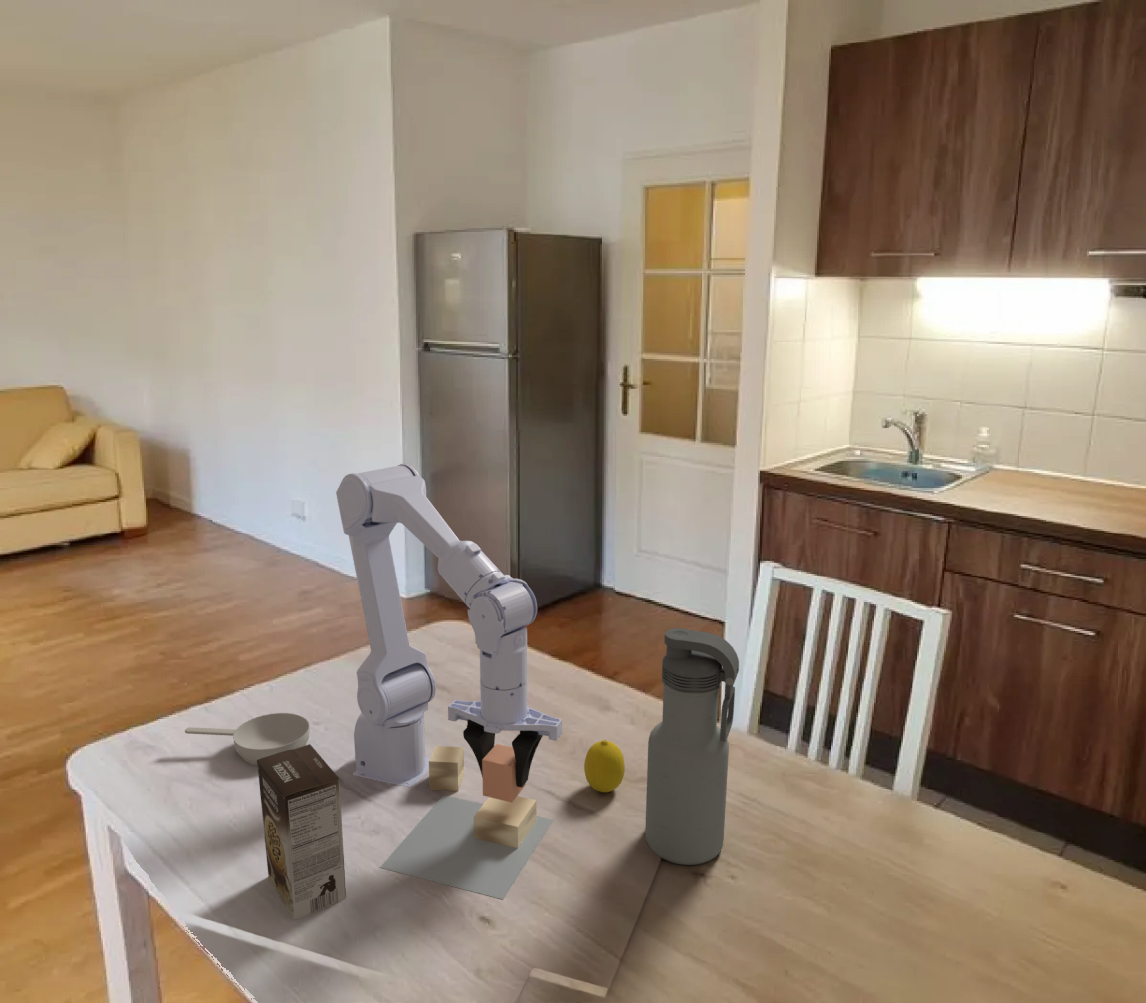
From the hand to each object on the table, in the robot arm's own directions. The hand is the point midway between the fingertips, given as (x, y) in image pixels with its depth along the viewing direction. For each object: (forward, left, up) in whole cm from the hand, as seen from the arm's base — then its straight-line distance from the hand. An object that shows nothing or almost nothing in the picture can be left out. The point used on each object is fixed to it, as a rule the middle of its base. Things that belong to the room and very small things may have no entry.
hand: (505, 779), depth 110 cm
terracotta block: (0, 0, -1) cm, 1 cm away
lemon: (+9, +13, -8) cm, 18 cm away
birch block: (-12, +7, -8) cm, 16 cm away
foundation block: (0, 0, -7) cm, 7 cm away
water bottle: (+22, +6, -8) cm, 24 cm away
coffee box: (-17, -18, -8) cm, 26 cm away
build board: (-3, -4, -8) cm, 9 cm away
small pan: (-44, +5, -8) cm, 45 cm away
